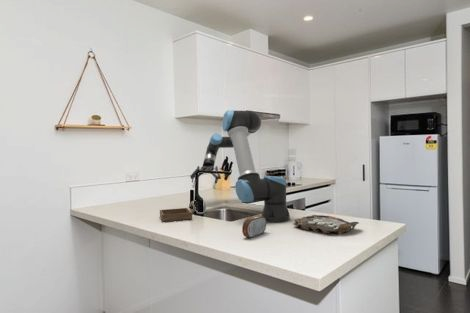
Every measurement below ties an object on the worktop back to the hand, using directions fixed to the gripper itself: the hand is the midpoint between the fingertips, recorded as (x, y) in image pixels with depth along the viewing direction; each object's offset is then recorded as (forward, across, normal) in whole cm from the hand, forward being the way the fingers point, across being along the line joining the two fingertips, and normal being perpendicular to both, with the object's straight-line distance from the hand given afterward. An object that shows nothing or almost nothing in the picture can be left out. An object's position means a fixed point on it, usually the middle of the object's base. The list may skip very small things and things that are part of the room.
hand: (203, 186), depth 210 cm
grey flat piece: (+39, -71, +18) cm, 83 cm away
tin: (+51, -42, +31) cm, 73 cm away
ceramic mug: (+18, -1, -2) cm, 18 cm away
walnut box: (+30, +7, +10) cm, 33 cm away
